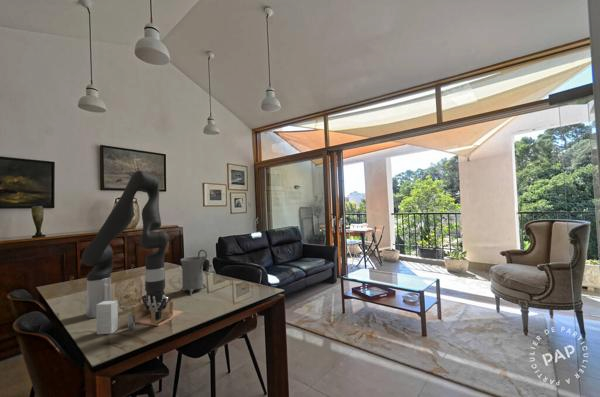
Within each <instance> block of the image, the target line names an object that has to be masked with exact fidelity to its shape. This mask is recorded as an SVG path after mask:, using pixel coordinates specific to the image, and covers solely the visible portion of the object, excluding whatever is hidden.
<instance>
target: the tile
mask: <svg viewBox="0 0 600 397" xmlns="http://www.w3.org/2000/svg"><path fill="white" fill-rule="evenodd" d="M183 312H184V311H183V310H176V309H175V310H174V309H173V315H172V316H170V317H168V318H166V319H164V320H162V321H159V322H157V323H155V324H152V323H151V318H150V315H148V316H145V317H143V318H141V319H138V320H136V321H135V324H142V325H148V326H157V327H159V326H162V325H163V324H165V323H167V322H169V321H170V320H172V318H173V319H175V318H177V316H180V315H182V314H183Z"/></svg>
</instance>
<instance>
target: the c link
mask: <svg viewBox="0 0 600 397" xmlns="http://www.w3.org/2000/svg"><path fill="white" fill-rule="evenodd" d="M147 304H148V303H147ZM148 306H149V305H148ZM158 308H159V306H158ZM130 310H131V312H130V314H135V321H136V320H138V319H141V318H143V317H145V316H148V315H150V311H149V309H146V308H145V305H144V303H143V301H142V302H140V303H137V304H134V305H131V308H130ZM173 310H174V302H173V301H170V300H169V301H168V303H167V306H166V308H165V309H163V310H162V311H161V319H160V320H158V321H156V319H155V312H156V311H155V307H154V308H152V309H151V323H152V324H155V323H157V322H159V321H162V320H164V319H166V318H168V317H170V316H172V315H173Z"/></svg>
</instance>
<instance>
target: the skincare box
mask: <svg viewBox="0 0 600 397" xmlns="http://www.w3.org/2000/svg"><path fill="white" fill-rule="evenodd" d="M118 308H119V306H118V300H111V301H103V302H101V303H99V304H97V305H96V312H97V317H96V335H105V334H106V335H109V334H113V333H115V331H117V330H118V329H119V320H118V319H119V317H118V316H119V315H118V314H119V313H118V311H119V310H118Z"/></svg>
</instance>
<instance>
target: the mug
mask: <svg viewBox="0 0 600 397" xmlns="http://www.w3.org/2000/svg"><path fill="white" fill-rule="evenodd" d="M201 252H204V254H205V255H203V256H201V255H200V253H201ZM207 258H208V252H207V251H206V249H200V250H199V251H198V253H197V256H196V255H195V256H188V257H183V258H180V260H179V261H180V264H181V269H182V270H181V271H182V272H181V274H182V275H181V276H182V277H181V278H182V286H181V289H180V290H181V291H189V295H190V296H191V295H193V292H194V290H198V289H201V288H207V286H206V283H204V272H203V271H204V270H203V268H204V266H203V265H204V263H205V261H206V260H207Z"/></svg>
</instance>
